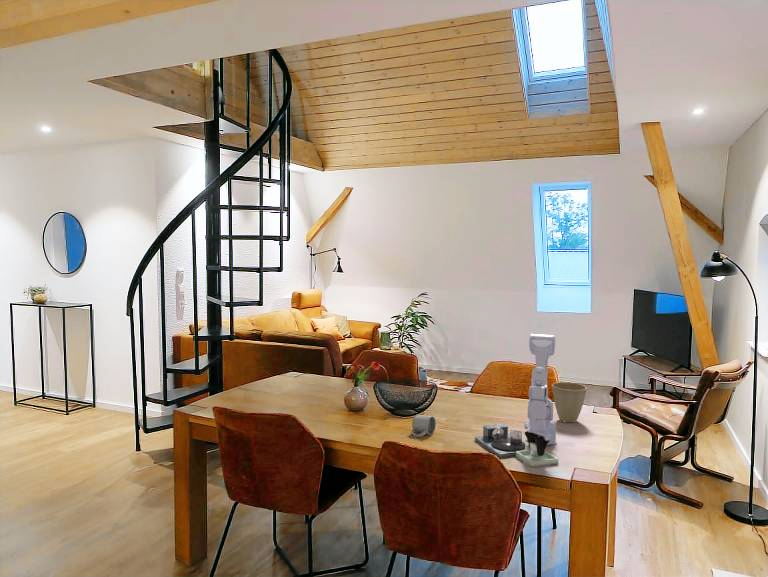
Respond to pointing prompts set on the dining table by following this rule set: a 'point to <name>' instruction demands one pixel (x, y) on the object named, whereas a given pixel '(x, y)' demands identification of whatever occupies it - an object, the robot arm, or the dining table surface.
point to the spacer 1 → (516, 436)
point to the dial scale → (499, 441)
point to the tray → (536, 458)
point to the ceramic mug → (423, 425)
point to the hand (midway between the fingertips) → (536, 453)
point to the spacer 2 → (533, 449)
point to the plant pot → (568, 400)
